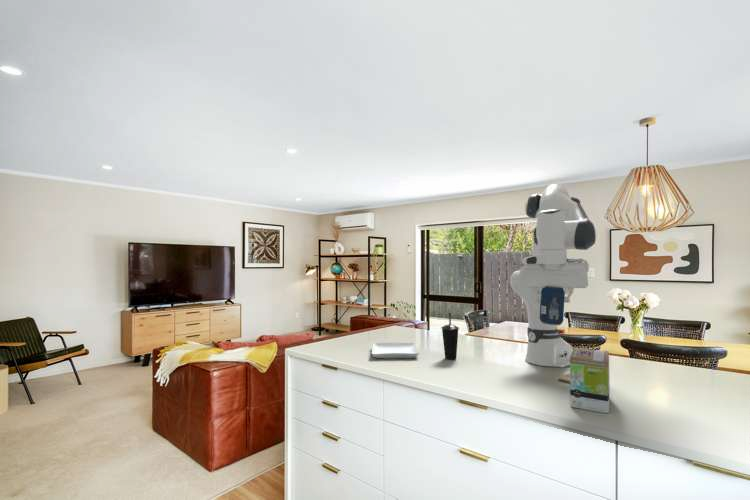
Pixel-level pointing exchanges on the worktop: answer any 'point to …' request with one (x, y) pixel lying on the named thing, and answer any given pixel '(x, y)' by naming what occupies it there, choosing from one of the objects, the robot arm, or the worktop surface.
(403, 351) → the salad plate
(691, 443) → the worktop surface
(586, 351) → the tea box
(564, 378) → the walnut coaster
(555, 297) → the soda can
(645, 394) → the worktop surface
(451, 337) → the drinking cup
